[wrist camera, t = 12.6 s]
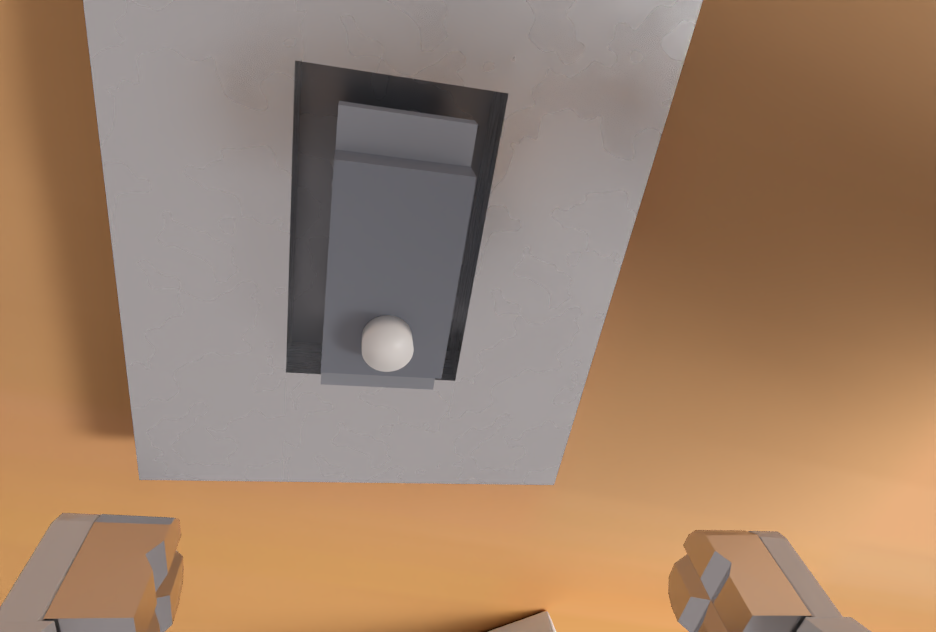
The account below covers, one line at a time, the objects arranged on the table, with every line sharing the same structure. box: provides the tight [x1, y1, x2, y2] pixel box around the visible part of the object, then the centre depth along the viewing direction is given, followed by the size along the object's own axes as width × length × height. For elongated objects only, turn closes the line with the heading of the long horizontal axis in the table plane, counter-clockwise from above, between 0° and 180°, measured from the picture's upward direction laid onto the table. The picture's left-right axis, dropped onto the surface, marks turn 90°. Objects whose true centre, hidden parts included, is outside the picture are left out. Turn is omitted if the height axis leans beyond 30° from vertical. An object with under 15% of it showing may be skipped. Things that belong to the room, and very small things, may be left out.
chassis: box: [83, 0, 703, 485], centre depth 22 cm, size 18×22×2 cm
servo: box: [321, 101, 478, 390], centre depth 20 cm, size 4×10×6 cm, turn 170°
